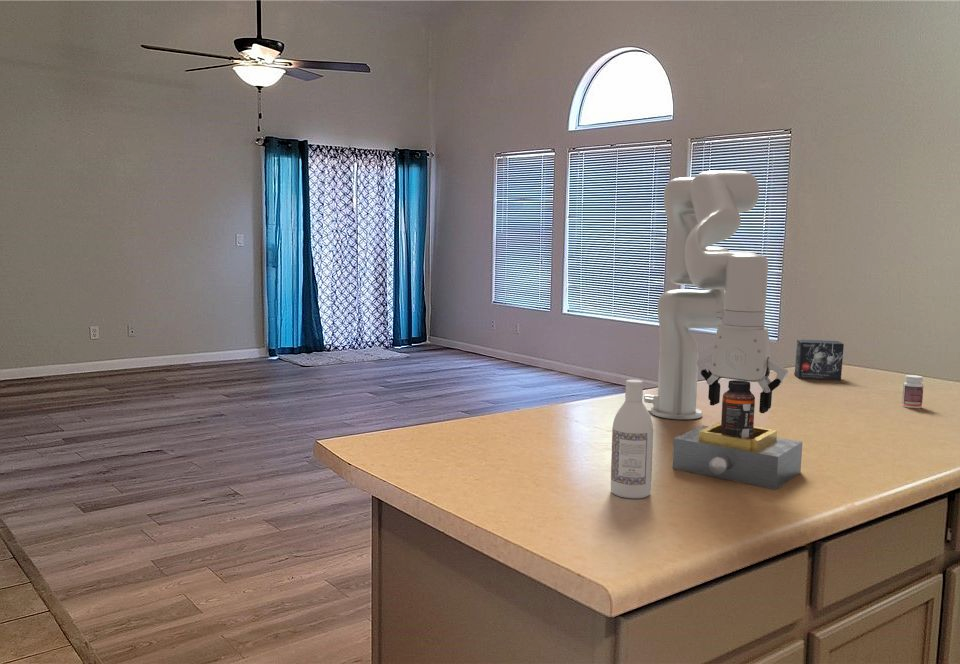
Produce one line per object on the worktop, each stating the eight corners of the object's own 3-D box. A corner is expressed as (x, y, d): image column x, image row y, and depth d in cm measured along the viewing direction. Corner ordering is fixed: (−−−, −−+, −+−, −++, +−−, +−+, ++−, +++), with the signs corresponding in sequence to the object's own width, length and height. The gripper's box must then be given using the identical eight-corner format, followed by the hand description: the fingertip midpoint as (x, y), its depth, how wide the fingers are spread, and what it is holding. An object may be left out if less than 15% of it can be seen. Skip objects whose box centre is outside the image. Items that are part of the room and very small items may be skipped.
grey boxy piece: (665, 471, 155) (667, 432, 154) (701, 453, 168) (703, 416, 167) (770, 493, 142) (773, 450, 141) (800, 472, 156) (803, 432, 155)
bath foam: (623, 484, 146) (626, 375, 144) (657, 492, 142) (662, 380, 140) (602, 493, 141) (606, 380, 139) (638, 502, 137) (642, 386, 134)
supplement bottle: (754, 444, 152) (758, 385, 151) (722, 442, 153) (725, 383, 152) (750, 436, 158) (753, 379, 157) (719, 435, 159) (721, 378, 158)
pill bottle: (925, 408, 215) (927, 377, 214) (907, 408, 215) (909, 377, 214) (916, 405, 220) (918, 374, 219) (898, 404, 220) (900, 374, 219)
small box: (798, 378, 259) (800, 341, 258) (793, 375, 266) (795, 339, 264) (841, 380, 257) (844, 343, 256) (836, 376, 264) (838, 340, 262)
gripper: (692, 317, 155) (688, 404, 158) (783, 325, 145) (777, 418, 147) (708, 314, 161) (703, 398, 163) (796, 321, 150) (790, 411, 153)
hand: (738, 408), depth 155 cm, fingers open, 9 cm apart
